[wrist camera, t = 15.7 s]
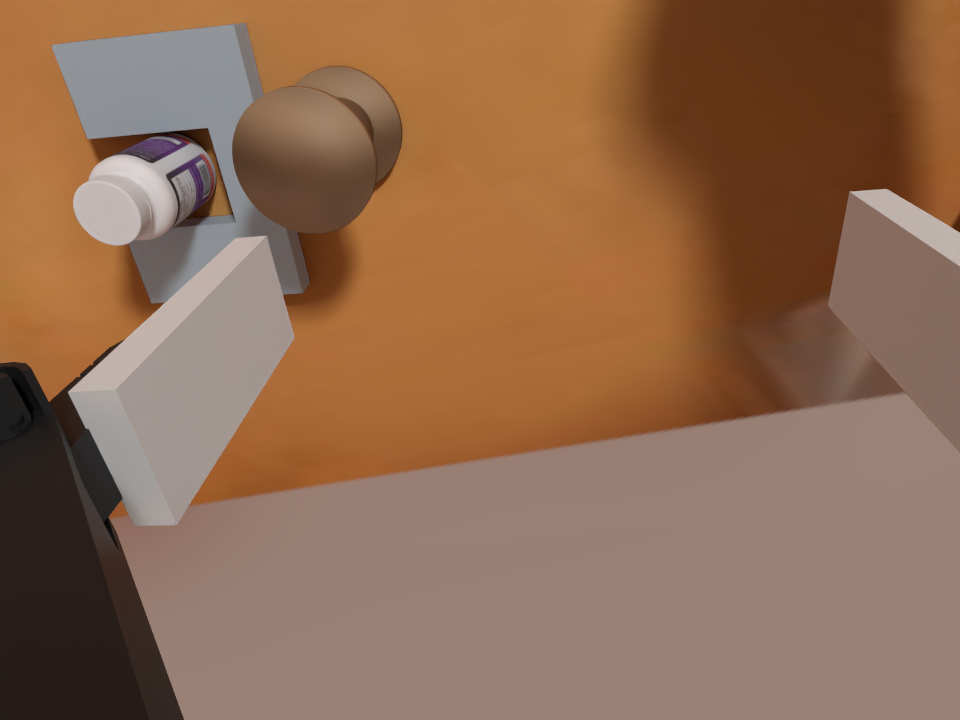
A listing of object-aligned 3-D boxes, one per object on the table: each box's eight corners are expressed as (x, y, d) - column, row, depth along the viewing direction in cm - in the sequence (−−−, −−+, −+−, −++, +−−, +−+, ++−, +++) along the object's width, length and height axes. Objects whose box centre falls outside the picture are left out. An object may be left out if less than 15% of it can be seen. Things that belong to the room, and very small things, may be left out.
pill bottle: (129, 169, 47) (43, 212, 39) (168, 114, 45) (86, 147, 36) (193, 221, 49) (124, 274, 40) (233, 171, 47) (169, 215, 38)
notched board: (70, 42, 43) (51, 45, 41) (245, 23, 42) (233, 25, 40) (163, 292, 52) (151, 303, 50) (310, 282, 51) (302, 293, 49)
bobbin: (272, 72, 43) (213, 95, 35) (391, 59, 42) (359, 80, 34) (301, 192, 47) (254, 238, 39) (410, 183, 46) (386, 228, 38)
